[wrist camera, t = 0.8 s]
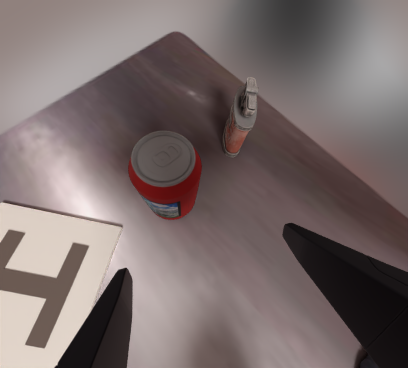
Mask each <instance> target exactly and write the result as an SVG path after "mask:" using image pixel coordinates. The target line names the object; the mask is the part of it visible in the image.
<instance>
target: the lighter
mask: <svg viewBox="0 0 408 368" xmlns="http://www.w3.org/2000/svg"><path fill="white" fill-rule="evenodd" d="M257 94H258V87H257V86H256V80H255V79H254V78H248V79H247V82H246V84H245V86H240V87H239V88H238V89H237V92H236V95H235V98H234V103H233V106H232V108H231V111H230V114H229V119H228V120H227V123H226V126H225V129H224V133H223V150H224V153H225V154H226V155H227V156H229V157H235V156H237V155H238V153H239V151H240V147H241V145H242V143H243V141H244V139H245V137H246V135H247V133H248V132H249V130H251V129H252V127H253V125H254V123H255V119H256V115H257V100H256V98H257Z"/></svg>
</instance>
